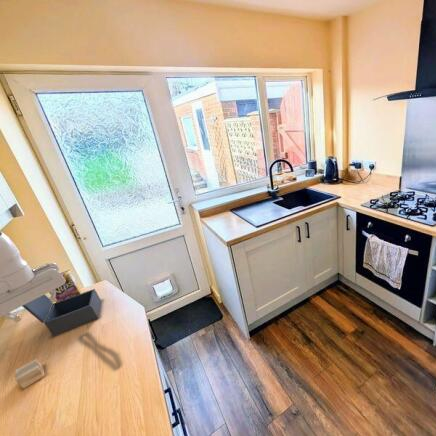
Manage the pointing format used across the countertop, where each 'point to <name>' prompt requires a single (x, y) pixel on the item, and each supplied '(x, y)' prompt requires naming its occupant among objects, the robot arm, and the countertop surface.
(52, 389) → the countertop surface
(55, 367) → the countertop surface
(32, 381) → the block
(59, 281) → the robot arm
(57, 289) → the candy box
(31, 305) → the lid
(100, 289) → the countertop surface
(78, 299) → the chest
